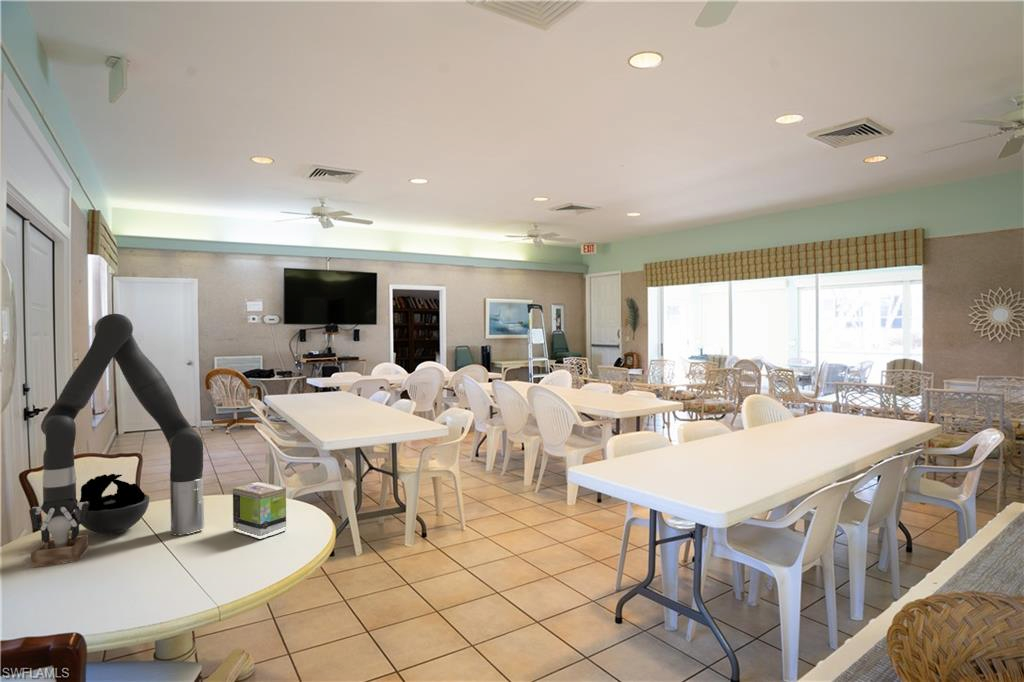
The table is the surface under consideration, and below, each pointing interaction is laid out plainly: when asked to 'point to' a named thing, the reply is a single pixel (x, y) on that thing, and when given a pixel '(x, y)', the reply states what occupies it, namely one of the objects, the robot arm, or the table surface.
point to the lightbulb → (59, 530)
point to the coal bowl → (112, 505)
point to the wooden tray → (59, 552)
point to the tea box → (259, 508)
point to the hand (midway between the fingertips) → (60, 540)
